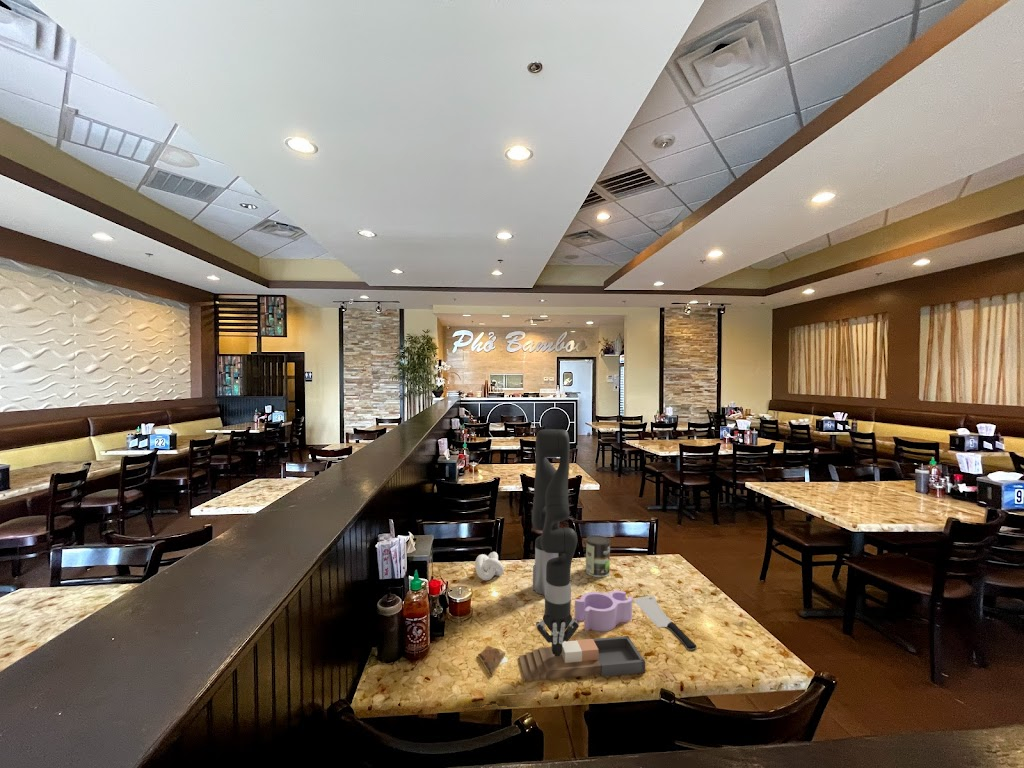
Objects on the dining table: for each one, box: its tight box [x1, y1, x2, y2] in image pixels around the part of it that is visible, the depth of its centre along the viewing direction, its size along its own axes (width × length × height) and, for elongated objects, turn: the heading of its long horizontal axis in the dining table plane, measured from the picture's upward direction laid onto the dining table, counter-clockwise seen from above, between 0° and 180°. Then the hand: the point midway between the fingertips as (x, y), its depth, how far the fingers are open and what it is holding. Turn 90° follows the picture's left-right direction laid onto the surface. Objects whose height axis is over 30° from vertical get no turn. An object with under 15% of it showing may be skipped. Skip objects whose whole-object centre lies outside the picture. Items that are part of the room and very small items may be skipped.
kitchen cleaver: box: [632, 595, 697, 651], centre depth 148 cm, size 31×2×10 cm
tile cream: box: [561, 640, 582, 663], centre depth 126 cm, size 5×5×3 cm
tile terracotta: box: [576, 638, 599, 661], centre depth 127 cm, size 5×5×3 cm
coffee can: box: [585, 534, 611, 578], centre depth 185 cm, size 10×10×14 cm
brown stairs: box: [518, 648, 547, 682], centre depth 124 cm, size 6×10×2 cm, turn 8°
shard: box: [477, 645, 507, 678], centre depth 127 cm, size 11×8×2 cm
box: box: [592, 635, 646, 678], centre depth 128 cm, size 13×12×3 cm
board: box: [538, 646, 601, 680], centre depth 126 cm, size 16×10×2 cm, turn 98°
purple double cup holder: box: [574, 590, 633, 632], centre depth 150 cm, size 20×12×7 cm, turn 111°
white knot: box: [474, 551, 505, 582], centre depth 181 cm, size 11×12×9 cm
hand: (556, 654), depth 125 cm, fingers closed
